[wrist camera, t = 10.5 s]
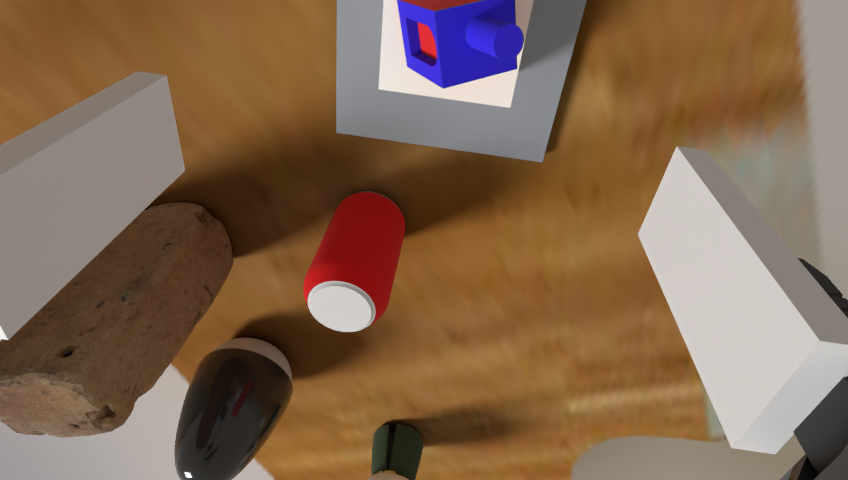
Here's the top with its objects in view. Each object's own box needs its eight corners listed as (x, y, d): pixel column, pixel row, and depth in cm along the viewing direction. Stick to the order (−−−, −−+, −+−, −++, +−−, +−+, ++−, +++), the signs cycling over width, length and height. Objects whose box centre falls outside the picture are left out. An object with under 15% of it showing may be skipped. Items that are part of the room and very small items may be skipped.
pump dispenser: (213, 374, 59) (142, 502, 47) (213, 313, 53) (131, 442, 41) (298, 394, 60) (250, 526, 48) (307, 336, 54) (255, 470, 42)
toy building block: (472, 50, 30) (548, 81, 23) (406, 66, 29) (467, 104, 22) (467, -16, 28) (548, -2, 21) (396, -1, 27) (459, 19, 20)
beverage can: (367, 172, 42) (332, 259, 32) (421, 218, 44) (403, 313, 34) (324, 214, 45) (279, 306, 35) (376, 255, 47) (347, 353, 37)
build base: (343, -210, 28) (306, -235, 22) (629, -172, 28) (668, -188, 22) (339, 126, 40) (314, 168, 34) (540, 155, 39) (550, 202, 33)
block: (223, 197, 45) (73, 375, 28) (247, 264, 49) (129, 452, 33) (112, 200, 46) (-92, 372, 30) (144, 264, 50) (-18, 446, 34)
